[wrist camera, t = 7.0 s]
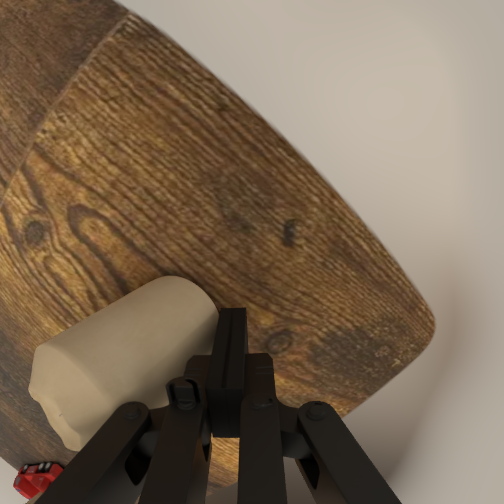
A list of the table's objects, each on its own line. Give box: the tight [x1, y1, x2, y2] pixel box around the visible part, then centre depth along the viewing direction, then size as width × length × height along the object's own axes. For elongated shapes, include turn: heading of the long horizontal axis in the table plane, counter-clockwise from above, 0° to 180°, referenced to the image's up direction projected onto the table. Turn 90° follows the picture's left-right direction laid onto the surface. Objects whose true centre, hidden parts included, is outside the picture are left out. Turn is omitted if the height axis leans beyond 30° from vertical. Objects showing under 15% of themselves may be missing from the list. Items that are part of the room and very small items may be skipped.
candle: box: [28, 276, 219, 451], centre depth 14 cm, size 6×6×10 cm
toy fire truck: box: [13, 462, 64, 504], centre depth 21 cm, size 3×14×10 cm, turn 119°
